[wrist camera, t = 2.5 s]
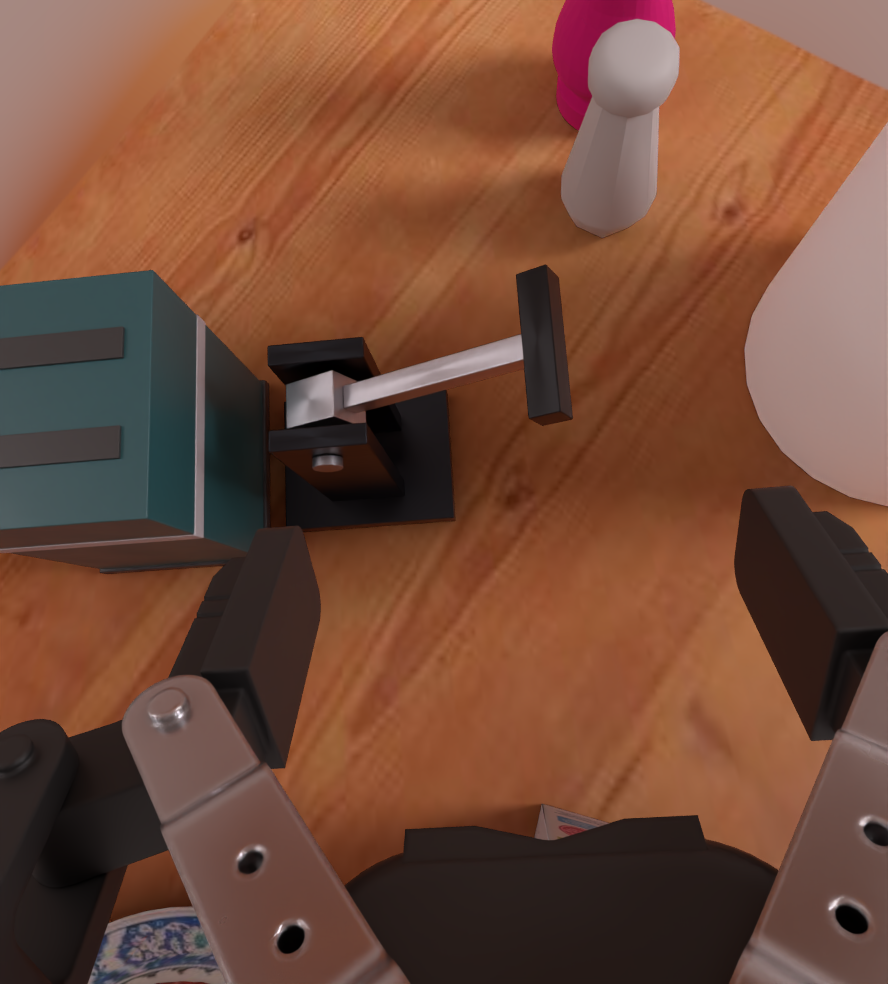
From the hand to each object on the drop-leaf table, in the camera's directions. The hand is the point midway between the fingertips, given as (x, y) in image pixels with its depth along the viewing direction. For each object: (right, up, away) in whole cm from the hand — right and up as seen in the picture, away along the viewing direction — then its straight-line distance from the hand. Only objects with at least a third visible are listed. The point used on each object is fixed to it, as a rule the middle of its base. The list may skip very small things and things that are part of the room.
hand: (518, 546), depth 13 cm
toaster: (-17, +2, +32) cm, 36 cm away
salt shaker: (+9, +19, +33) cm, 39 cm away
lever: (-2, +6, +19) cm, 20 cm away
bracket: (-6, +3, +31) cm, 32 cm away
